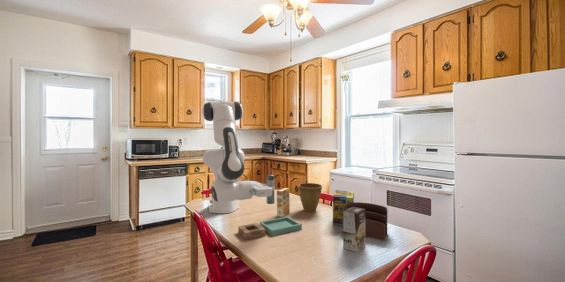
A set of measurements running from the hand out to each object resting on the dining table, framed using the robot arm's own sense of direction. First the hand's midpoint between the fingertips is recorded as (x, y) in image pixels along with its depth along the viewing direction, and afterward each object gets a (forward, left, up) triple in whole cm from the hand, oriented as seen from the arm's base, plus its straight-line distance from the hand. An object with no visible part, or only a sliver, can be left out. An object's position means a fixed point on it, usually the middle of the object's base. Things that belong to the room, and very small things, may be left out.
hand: (272, 186), depth 131 cm
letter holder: (+27, +37, -22) cm, 51 cm away
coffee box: (+35, +22, -22) cm, 47 cm away
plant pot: (-17, +36, -22) cm, 45 cm away
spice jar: (0, -1, -8) cm, 8 cm away
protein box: (+9, +40, -22) cm, 46 cm away
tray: (0, +5, -22) cm, 22 cm away
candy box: (-18, +17, -22) cm, 33 cm away
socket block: (0, -11, -22) cm, 25 cm away
